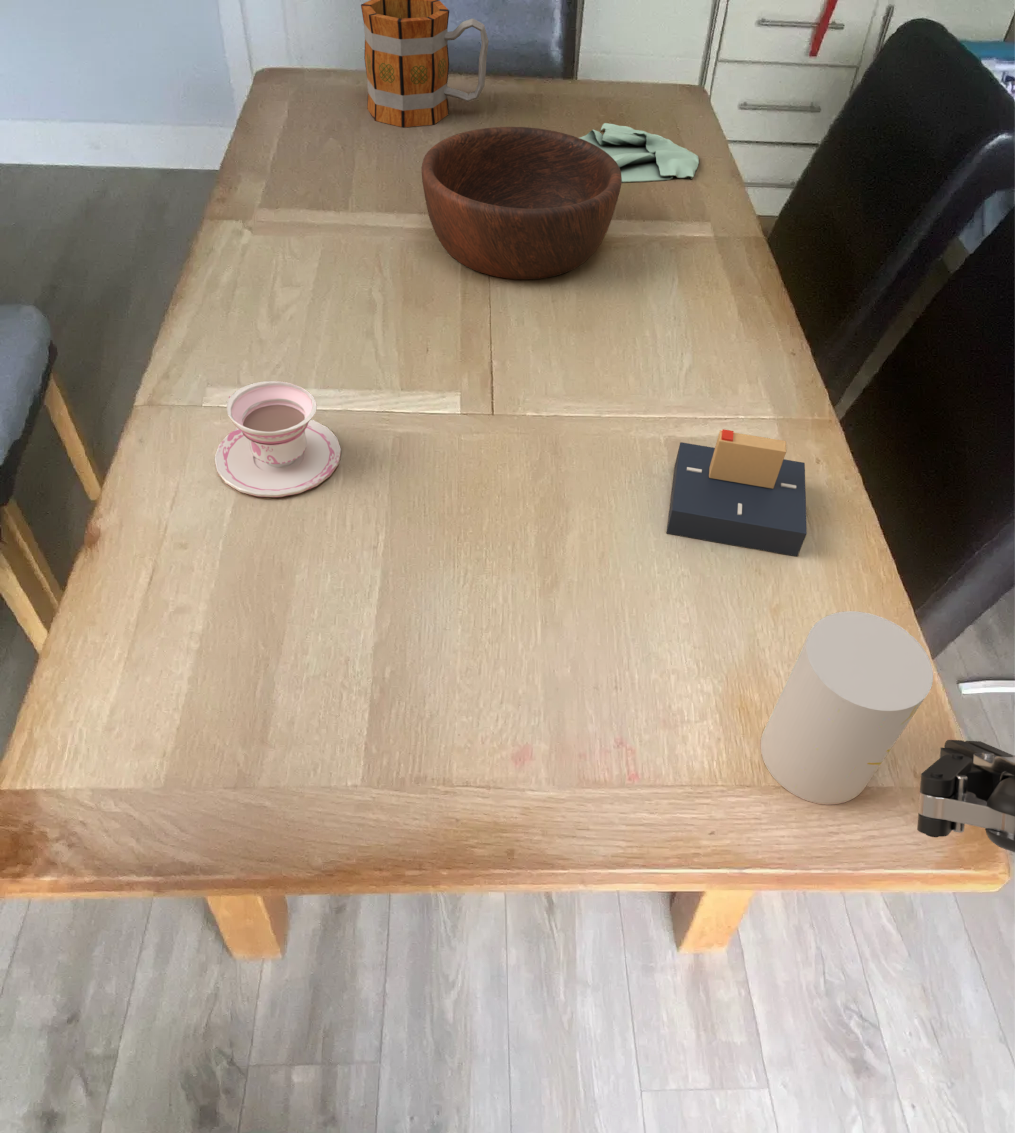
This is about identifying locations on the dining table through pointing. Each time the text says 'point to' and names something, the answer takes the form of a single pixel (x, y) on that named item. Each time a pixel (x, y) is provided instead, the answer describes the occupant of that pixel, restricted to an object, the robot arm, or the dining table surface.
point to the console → (737, 505)
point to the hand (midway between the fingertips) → (958, 759)
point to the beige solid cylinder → (844, 706)
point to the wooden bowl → (520, 199)
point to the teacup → (275, 441)
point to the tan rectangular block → (747, 459)
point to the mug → (412, 61)
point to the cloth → (644, 154)
